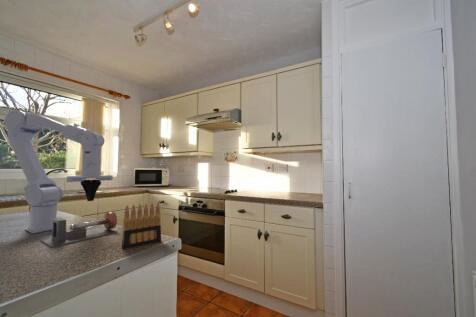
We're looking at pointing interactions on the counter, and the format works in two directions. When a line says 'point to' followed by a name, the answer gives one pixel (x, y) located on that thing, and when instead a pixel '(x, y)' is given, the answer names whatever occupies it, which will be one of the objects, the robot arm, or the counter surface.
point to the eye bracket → (72, 234)
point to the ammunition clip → (135, 229)
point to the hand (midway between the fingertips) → (90, 200)
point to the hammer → (98, 222)
